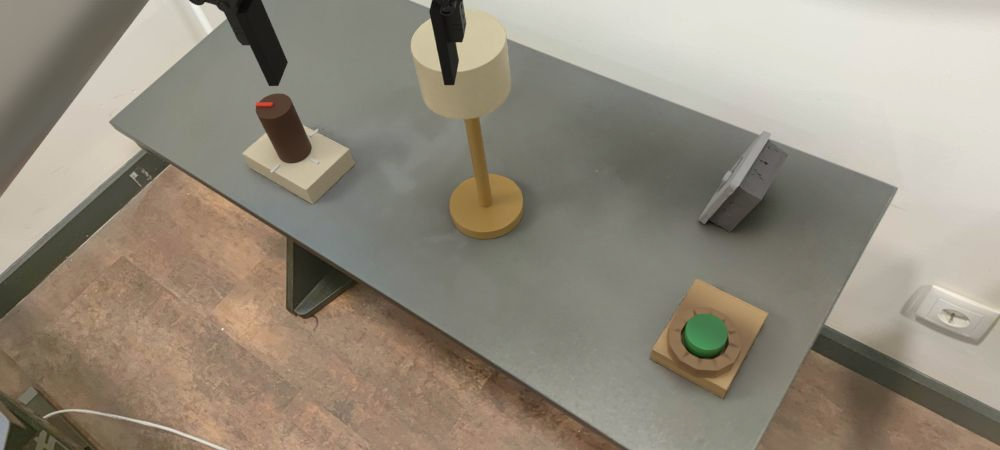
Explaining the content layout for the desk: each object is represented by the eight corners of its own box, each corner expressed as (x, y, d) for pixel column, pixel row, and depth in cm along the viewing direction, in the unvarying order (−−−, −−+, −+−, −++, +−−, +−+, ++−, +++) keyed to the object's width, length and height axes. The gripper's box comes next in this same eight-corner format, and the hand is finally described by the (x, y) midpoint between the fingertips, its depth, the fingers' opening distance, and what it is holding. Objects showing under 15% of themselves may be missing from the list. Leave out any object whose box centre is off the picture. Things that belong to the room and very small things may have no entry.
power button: (714, 365, 67) (717, 357, 66) (676, 345, 69) (678, 336, 68) (731, 334, 69) (735, 325, 68) (694, 315, 71) (696, 306, 69)
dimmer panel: (311, 206, 89) (303, 190, 86) (248, 169, 94) (239, 153, 91) (356, 162, 93) (350, 146, 90) (294, 129, 97) (286, 113, 95)
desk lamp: (495, 251, 82) (467, 84, 61) (436, 219, 86) (390, 51, 65) (538, 199, 86) (525, 27, 65) (479, 171, 90) (449, -1, 69)
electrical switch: (729, 171, 86) (751, 121, 78) (769, 190, 84) (795, 141, 77) (695, 224, 82) (715, 176, 74) (736, 245, 80) (761, 198, 72)
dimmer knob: (315, 138, 92) (295, 91, 85) (306, 163, 89) (284, 117, 82) (283, 138, 92) (260, 91, 86) (274, 163, 90) (249, 116, 83)
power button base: (721, 402, 69) (727, 386, 66) (648, 362, 72) (651, 344, 69) (764, 323, 74) (772, 304, 70) (693, 288, 77) (698, 268, 74)
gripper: (8, -195, 35) (192, 108, 52) (495, -225, 32) (523, 108, 49) (74, -255, 40) (225, 43, 57) (508, -286, 37) (530, 39, 54)
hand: (363, 73), depth 53 cm, fingers open, 13 cm apart
